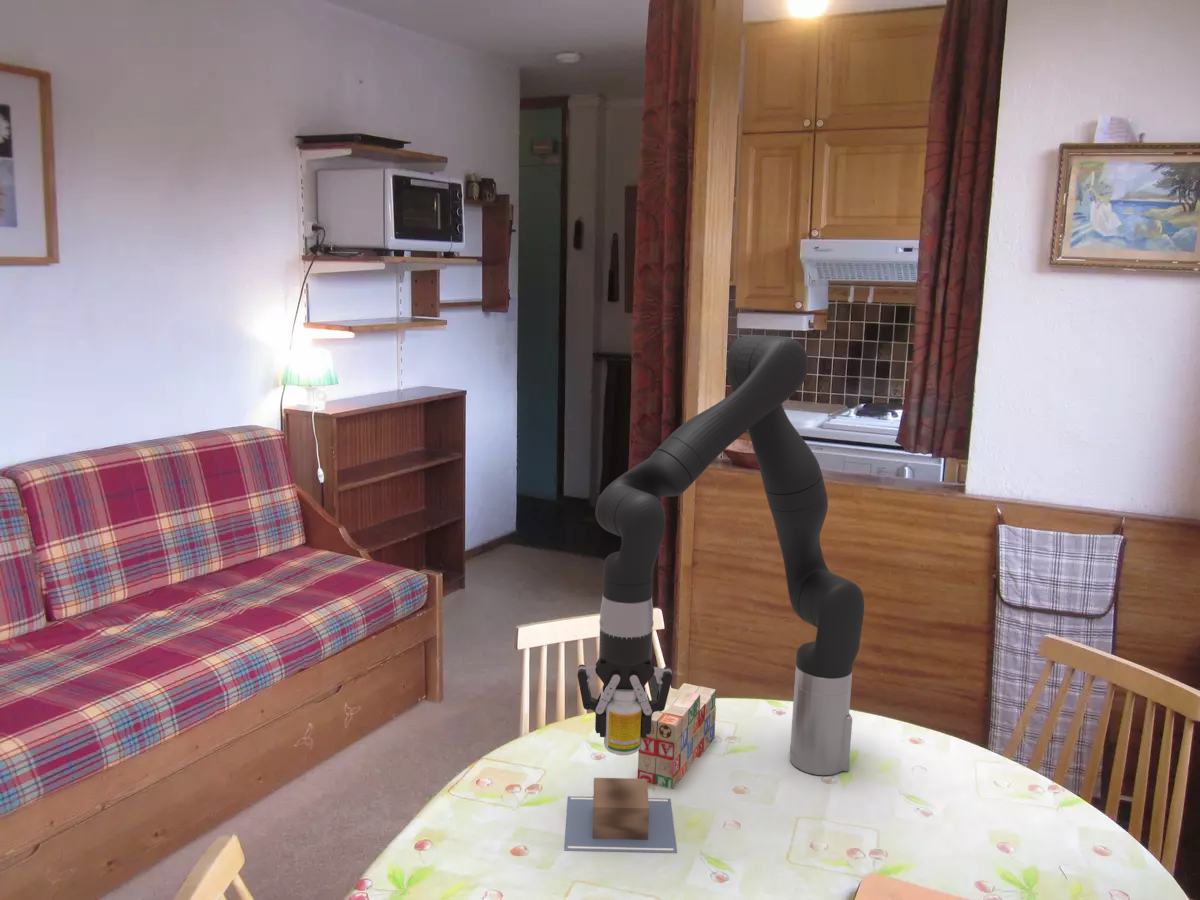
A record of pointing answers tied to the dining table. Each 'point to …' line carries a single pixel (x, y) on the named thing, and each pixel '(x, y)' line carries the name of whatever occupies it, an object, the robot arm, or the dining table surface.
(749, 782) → the dining table surface
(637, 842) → the blueprint board
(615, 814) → the walnut plinth
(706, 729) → the stack of blocks
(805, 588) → the robot arm
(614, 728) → the supplement bottle
